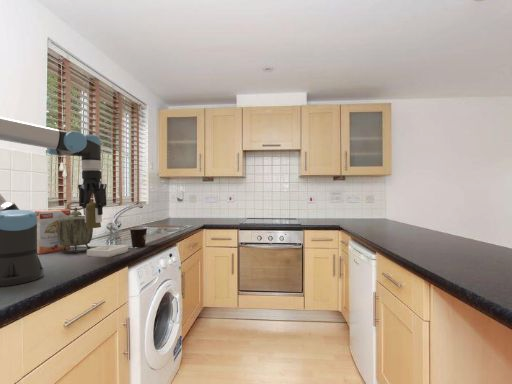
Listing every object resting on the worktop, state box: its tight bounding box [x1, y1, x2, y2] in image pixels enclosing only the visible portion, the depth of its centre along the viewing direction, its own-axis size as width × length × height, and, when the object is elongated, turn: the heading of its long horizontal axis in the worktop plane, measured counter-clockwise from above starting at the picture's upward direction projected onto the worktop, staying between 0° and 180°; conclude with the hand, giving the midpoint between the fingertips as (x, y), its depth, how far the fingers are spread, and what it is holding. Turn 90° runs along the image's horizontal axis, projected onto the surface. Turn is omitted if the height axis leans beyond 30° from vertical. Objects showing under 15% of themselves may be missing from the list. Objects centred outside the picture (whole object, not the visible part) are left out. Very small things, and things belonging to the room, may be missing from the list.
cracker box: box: [34, 209, 72, 255], centre depth 141 cm, size 14×6×21 cm, turn 150°
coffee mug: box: [129, 226, 148, 249], centre depth 150 cm, size 12×9×10 cm
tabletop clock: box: [57, 201, 94, 254], centre depth 139 cm, size 14×9×25 cm, turn 118°
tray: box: [86, 244, 129, 258], centre depth 134 cm, size 13×12×3 cm
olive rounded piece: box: [86, 202, 102, 229], centre depth 124 cm, size 6×6×11 cm
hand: (93, 222), depth 124 cm, fingers closed on olive rounded piece, 5 cm apart
